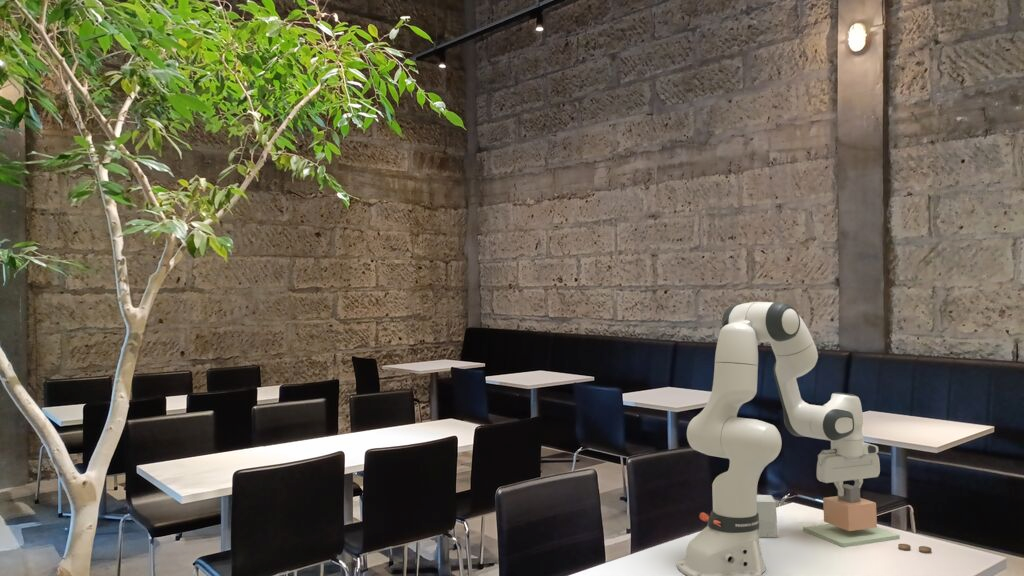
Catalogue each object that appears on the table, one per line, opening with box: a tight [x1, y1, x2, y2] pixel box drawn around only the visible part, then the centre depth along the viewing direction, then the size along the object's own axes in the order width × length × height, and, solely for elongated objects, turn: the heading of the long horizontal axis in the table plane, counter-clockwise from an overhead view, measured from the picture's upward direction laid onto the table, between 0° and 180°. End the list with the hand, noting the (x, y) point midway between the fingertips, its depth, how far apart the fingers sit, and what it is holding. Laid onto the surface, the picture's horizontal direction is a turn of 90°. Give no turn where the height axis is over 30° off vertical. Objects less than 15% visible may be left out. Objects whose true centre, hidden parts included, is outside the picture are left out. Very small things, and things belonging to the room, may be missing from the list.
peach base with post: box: [822, 483, 878, 531], centre depth 212 cm, size 10×10×11 cm
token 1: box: [897, 543, 912, 552], centre depth 198 cm, size 3×3×1 cm
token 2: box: [918, 545, 932, 555], centre depth 196 cm, size 3×3×1 cm
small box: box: [757, 494, 778, 538], centre depth 214 cm, size 8×6×10 cm
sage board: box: [803, 523, 901, 548], centre depth 211 cm, size 20×16×1 cm
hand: (849, 494), depth 212 cm, fingers closed on peach base with post, 3 cm apart
